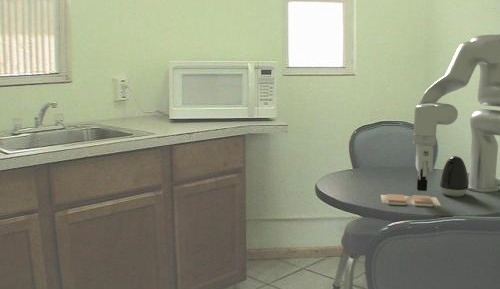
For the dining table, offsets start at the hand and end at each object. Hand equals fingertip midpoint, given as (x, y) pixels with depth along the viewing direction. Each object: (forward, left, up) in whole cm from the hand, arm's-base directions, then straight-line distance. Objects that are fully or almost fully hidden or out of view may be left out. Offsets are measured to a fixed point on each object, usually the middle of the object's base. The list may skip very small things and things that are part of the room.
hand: (421, 190), depth 181 cm
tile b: (+9, -2, -3) cm, 10 cm away
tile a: (0, -2, -3) cm, 4 cm away
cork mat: (+4, -1, -5) cm, 6 cm away
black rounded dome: (-13, -12, -5) cm, 18 cm away
